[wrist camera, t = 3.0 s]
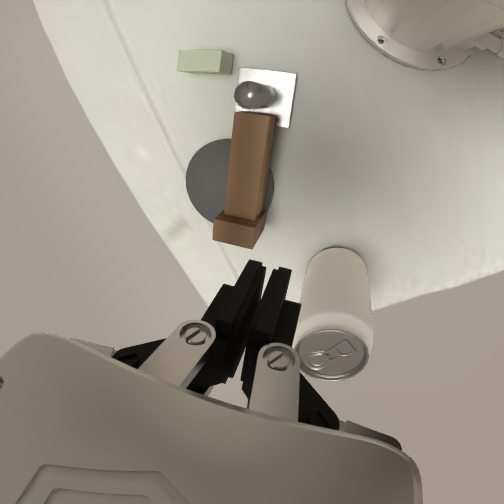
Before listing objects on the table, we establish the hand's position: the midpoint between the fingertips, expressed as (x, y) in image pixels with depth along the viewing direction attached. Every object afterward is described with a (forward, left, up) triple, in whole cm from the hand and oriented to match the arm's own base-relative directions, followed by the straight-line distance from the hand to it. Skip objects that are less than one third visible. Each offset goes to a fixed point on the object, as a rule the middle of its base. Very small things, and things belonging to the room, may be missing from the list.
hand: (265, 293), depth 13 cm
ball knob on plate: (+5, -8, -17) cm, 19 cm away
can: (-5, +8, -17) cm, 20 cm away
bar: (+5, -1, -16) cm, 17 cm away
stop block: (+10, -11, -17) cm, 23 cm away
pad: (+7, +1, -17) cm, 19 cm away
